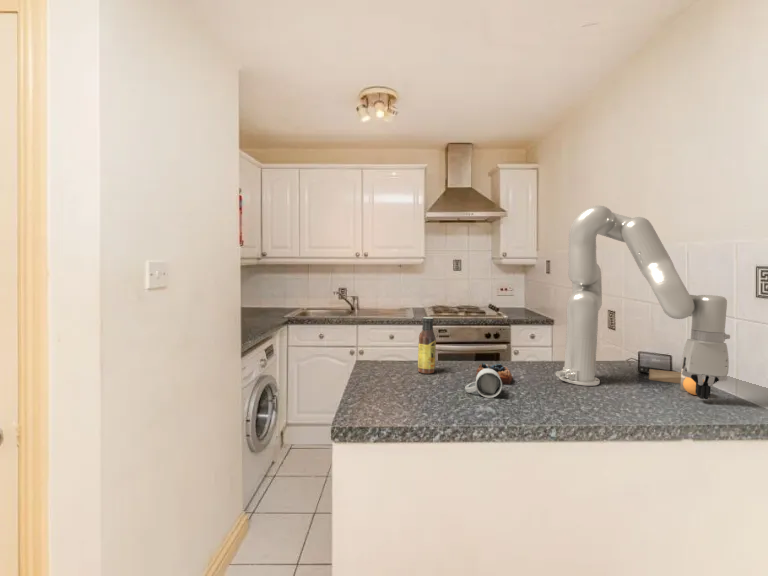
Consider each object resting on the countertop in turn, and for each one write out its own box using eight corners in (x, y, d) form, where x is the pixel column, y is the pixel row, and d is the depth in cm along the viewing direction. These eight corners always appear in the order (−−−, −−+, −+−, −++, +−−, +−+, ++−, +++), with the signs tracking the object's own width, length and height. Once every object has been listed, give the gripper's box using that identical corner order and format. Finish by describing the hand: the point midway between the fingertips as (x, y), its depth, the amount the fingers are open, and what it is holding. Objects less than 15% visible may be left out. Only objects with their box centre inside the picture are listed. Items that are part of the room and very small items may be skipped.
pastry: (476, 374, 138) (476, 358, 137) (510, 377, 135) (511, 361, 134) (475, 382, 127) (476, 365, 127) (513, 386, 124) (514, 369, 124)
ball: (691, 376, 125) (693, 395, 123) (677, 374, 123) (679, 393, 122) (710, 376, 119) (713, 396, 118) (696, 374, 118) (699, 394, 116)
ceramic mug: (499, 390, 119) (500, 366, 119) (502, 399, 111) (502, 373, 110) (464, 388, 121) (465, 364, 121) (464, 396, 113) (465, 370, 113)
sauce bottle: (434, 375, 134) (436, 319, 132) (416, 373, 135) (418, 318, 134) (435, 370, 140) (437, 317, 139) (418, 369, 141) (420, 316, 140)
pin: (687, 391, 123) (688, 365, 123) (678, 389, 125) (680, 364, 125) (691, 390, 124) (692, 365, 124) (682, 388, 126) (684, 363, 126)
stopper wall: (698, 385, 131) (698, 375, 131) (650, 380, 135) (651, 370, 135) (695, 383, 133) (696, 373, 133) (648, 378, 137) (649, 369, 137)
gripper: (731, 337, 113) (726, 397, 114) (672, 332, 118) (667, 390, 119) (746, 341, 106) (740, 405, 107) (682, 336, 111) (677, 398, 112)
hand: (702, 397), depth 113 cm, fingers closed
